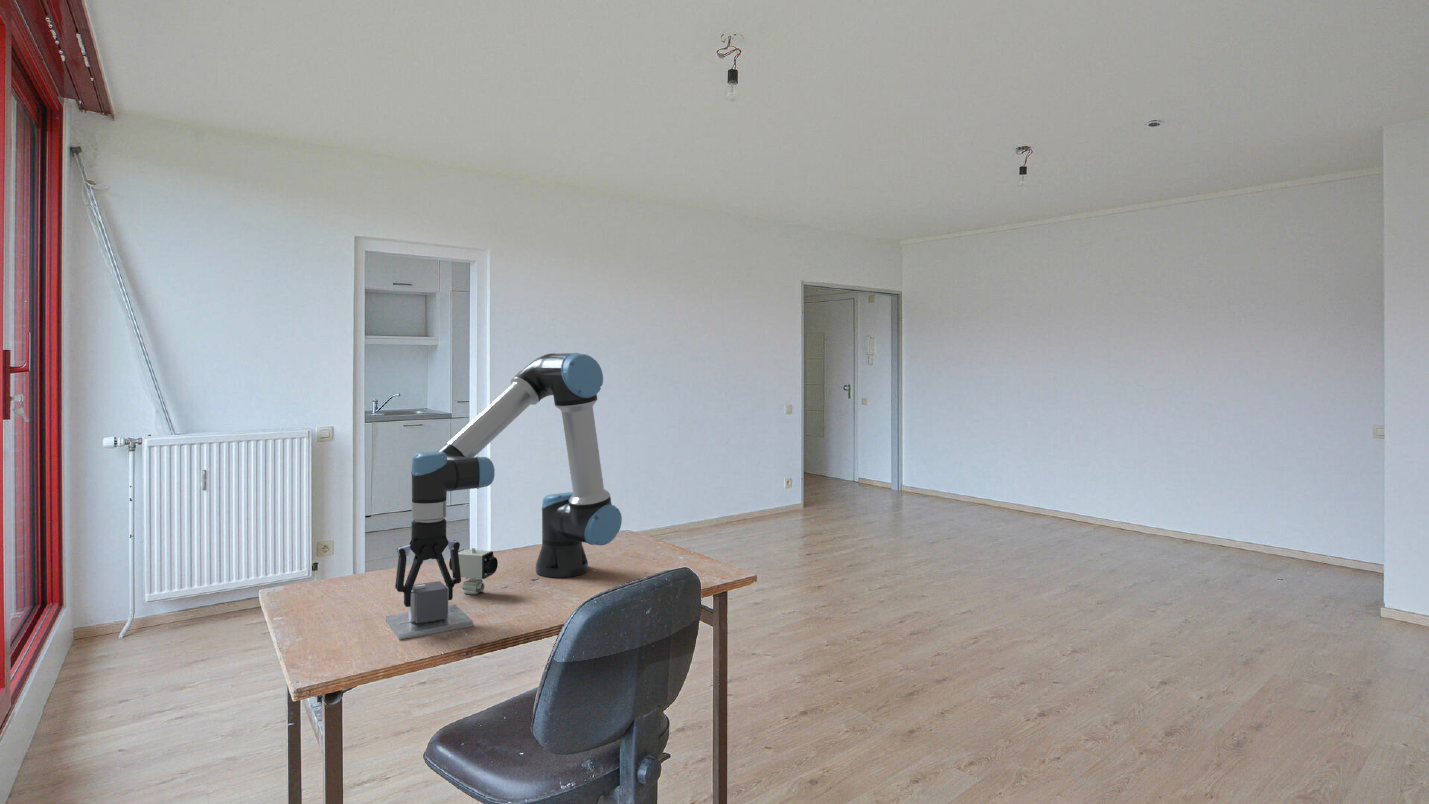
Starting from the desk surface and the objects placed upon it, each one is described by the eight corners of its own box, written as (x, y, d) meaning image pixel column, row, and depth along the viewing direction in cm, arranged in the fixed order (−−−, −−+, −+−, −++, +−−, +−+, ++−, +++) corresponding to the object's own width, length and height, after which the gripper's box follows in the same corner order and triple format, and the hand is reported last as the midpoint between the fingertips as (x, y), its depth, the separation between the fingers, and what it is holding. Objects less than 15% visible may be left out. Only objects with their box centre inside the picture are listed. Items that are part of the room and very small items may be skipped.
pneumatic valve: (489, 597, 190) (489, 551, 189) (448, 593, 192) (448, 548, 192) (499, 591, 195) (499, 546, 195) (459, 587, 198) (459, 544, 197)
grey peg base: (455, 609, 180) (455, 580, 180) (472, 626, 169) (472, 595, 168) (385, 621, 171) (385, 590, 171) (399, 639, 160) (399, 607, 159)
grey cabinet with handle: (439, 609, 174) (439, 578, 174) (447, 618, 169) (447, 585, 169) (409, 614, 170) (409, 582, 170) (416, 623, 165) (416, 590, 165)
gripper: (467, 512, 177) (466, 605, 178) (379, 520, 166) (379, 619, 167) (476, 517, 171) (476, 614, 172) (386, 526, 160) (386, 629, 161)
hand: (428, 616), depth 170 cm, fingers closed on grey cabinet with handle, 7 cm apart
